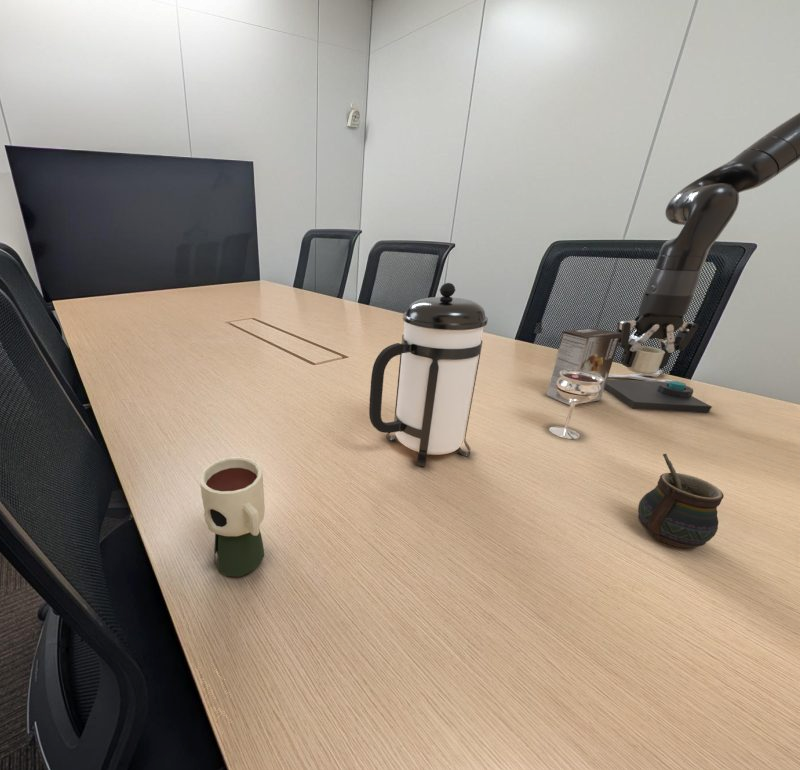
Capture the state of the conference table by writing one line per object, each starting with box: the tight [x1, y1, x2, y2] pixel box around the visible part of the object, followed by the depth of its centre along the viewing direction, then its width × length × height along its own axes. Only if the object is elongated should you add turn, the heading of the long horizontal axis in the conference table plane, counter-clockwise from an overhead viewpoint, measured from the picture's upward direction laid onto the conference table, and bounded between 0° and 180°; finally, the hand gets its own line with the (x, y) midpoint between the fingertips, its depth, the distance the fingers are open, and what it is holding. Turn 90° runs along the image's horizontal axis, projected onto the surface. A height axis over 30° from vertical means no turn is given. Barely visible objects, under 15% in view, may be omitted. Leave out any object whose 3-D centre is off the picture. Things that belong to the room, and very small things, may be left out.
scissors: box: [608, 369, 673, 383], centre depth 98 cm, size 11×1×20 cm
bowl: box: [626, 345, 665, 374], centre depth 85 cm, size 6×6×5 cm
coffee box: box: [546, 327, 621, 406], centre depth 85 cm, size 9×6×16 cm
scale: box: [604, 378, 712, 414], centre depth 87 cm, size 14×14×3 cm
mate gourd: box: [637, 453, 725, 549], centre depth 47 cm, size 7×8×10 cm
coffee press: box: [368, 282, 489, 468], centre depth 64 cm, size 17×16×30 cm
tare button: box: [668, 380, 687, 390], centre depth 85 cm, size 3×3×1 cm
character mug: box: [199, 456, 266, 578], centre depth 45 cm, size 11×7×13 cm, turn 34°
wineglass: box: [548, 370, 604, 440], centre depth 71 cm, size 7×7×12 cm
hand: (641, 366), depth 85 cm, fingers closed on bowl, 5 cm apart
